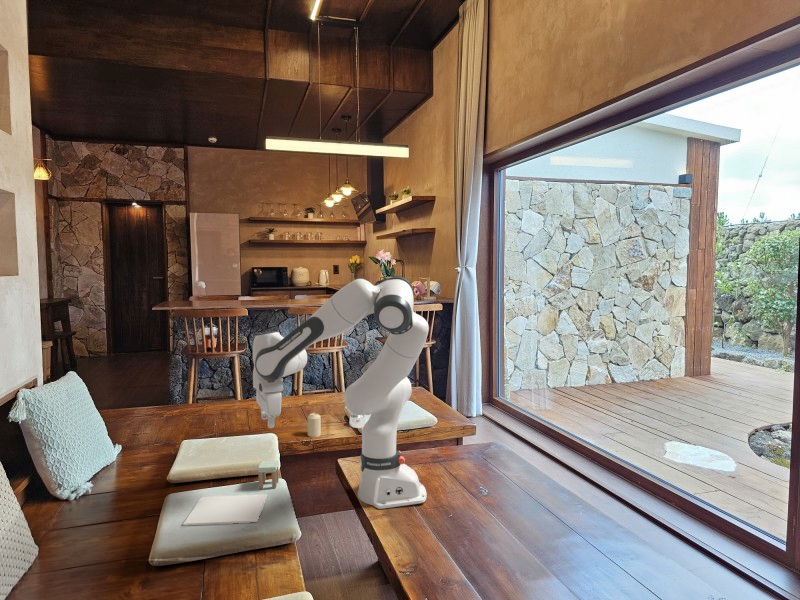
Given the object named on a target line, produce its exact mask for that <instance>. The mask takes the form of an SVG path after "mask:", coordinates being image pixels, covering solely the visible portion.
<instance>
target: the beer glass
mask: <svg viewBox="0 0 800 600" xmlns="http://www.w3.org/2000/svg"><path fill="white" fill-rule="evenodd" d="M365 417H366V415H354V414H350V416H349V422H348V426H349V427H351V428H355V429H361V428H363V427H364V425H365V424H366V423H365V420H366V418H365Z"/></svg>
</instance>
